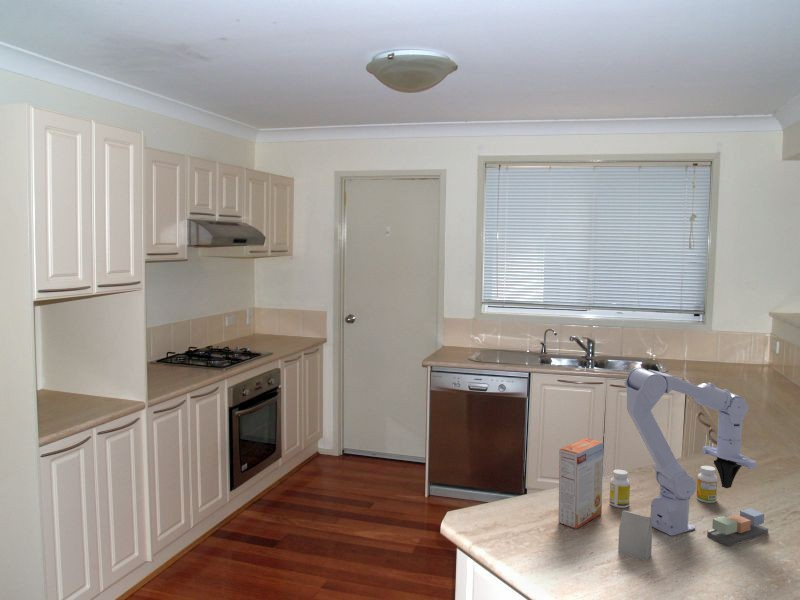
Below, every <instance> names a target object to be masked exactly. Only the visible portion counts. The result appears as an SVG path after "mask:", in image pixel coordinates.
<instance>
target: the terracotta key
mask: <svg viewBox="0 0 800 600" xmlns="http://www.w3.org/2000/svg"><path fill="white" fill-rule="evenodd" d="M726 517H727V518H729V519H732V520H734V521H736V522H737V532H739V533H743V532H746V531H749V530H750V526H751V520H749V519H746V518H744V517H741V516H740V514H734V515H729V516H726Z"/></svg>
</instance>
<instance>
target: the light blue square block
mask: <svg viewBox="0 0 800 600" xmlns="http://www.w3.org/2000/svg"><path fill="white" fill-rule="evenodd" d="M739 516H741V517H744V518H746V519H749V520H751V525H752V526H757V525H760V526H761V525H762V524H764V522H765V513H763V512H761V511H758V510H755V509H753V508H751V507H750V508H745V509H742V510H740V511H739Z"/></svg>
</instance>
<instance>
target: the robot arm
mask: <svg viewBox="0 0 800 600" xmlns="http://www.w3.org/2000/svg"><path fill="white" fill-rule="evenodd" d="M624 385H625V389H626V410H627V412H628V413H629V414H628V415H629V416H630V418H631V420H632V422H633V423H634V425H635V428H636V430H637V431H638V433H639V436H640V437H641V439H642V442H643V443H644V445H645V446H646V448H647V451H648V452H649V454H650V456H651V458H652V461H653V462H654V465H653V469H654V471H655V480H656V482H657V483H658V484H659V491H660V492H659V494H658V496H656V497H655V498H653V499H652V501H651V504H650V516H649V517H651V526H652V528H655V529H657V530H659V531H661V532H662V533H665V534H667V535H668V536H676V535H679V534H682V533H683V534H684V533H686V532H690V531H693V530H695V529H696V526H694V525H693V524H690V523H689V515H690V500H691V497H693V495H694V494H695V492H696V491H697V482H696V481H695V479H694V478H693V477H692V476H691V475H689V474H688V473H687V471H686V469H685V468H684V467H683V466H682V465H681V464H680V462H678V460H677V459H676V456H675V455H674V453H673V451H672V450H671V448H670V446H669V444H668V442H667V439H666V438H665V435H664V433H663V432H662V429H661V427H660V426H659V424H658V422H657V419H656V417H654V415H653V413H652V409H653V408H654V407H655V405H656V404H657V403H658V402H659V400H660V399H662V397H664V395H665V394H670V392H672V391H675V392H678V393H681V394H684V395H687V396H690V397H693V400H694V402H695V403H696V404H698V405H701V406H703V407H706V408H708V409H711V410H714V411H717V412H718V419H717V436H716V437H717V439H716V447H713V446H709V445H704V446H701V447H702V448H701V454H703V455H709V456H711V457H715V458H716V459H714V460H713V464H714V466H715V469H716V471H717V472H718V475H719V478H720V482H721V483H720V484H721V487H722V488H724V489H730V488H732V485H733V483H734V479H735V477H736V475H737V474H738V473H739V470H740V469H741V468H742V467H744V468H747V469H748V470H751V471H752V470H755V469H757V461H756V460H753V459H751V458H750V457H747V456H745V455H743V454H741V453H742V452H741V450H742V437H743V436H742V435H743V434H742V432H743V431H742V430H743V424H744V423H743V422H744V420H745V416H746V415H747V414H748V411H749V409H750V407H749V405H748V404H747V401H746V399H745V398H744V397H742V396H741V395H738V394H735V393H732V392H731V391H730V390H728V389H726V388H724V389H721V388H718V387H716V384H714V383H711V382H707V383H705V382H704V383H700V384H698V385H696V384H693V383H691V382H689V381H686V380H684V379H680V378H679V377H676V376H674V375H671V374H669V373H665V372H661V371H657V370H654V369H648V370H647V369H646V368H644V367H641V366H638V367H634V368H633V369H631V370H630V371H629V373H628V374H627V377H626V379H625V381H624Z"/></svg>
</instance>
